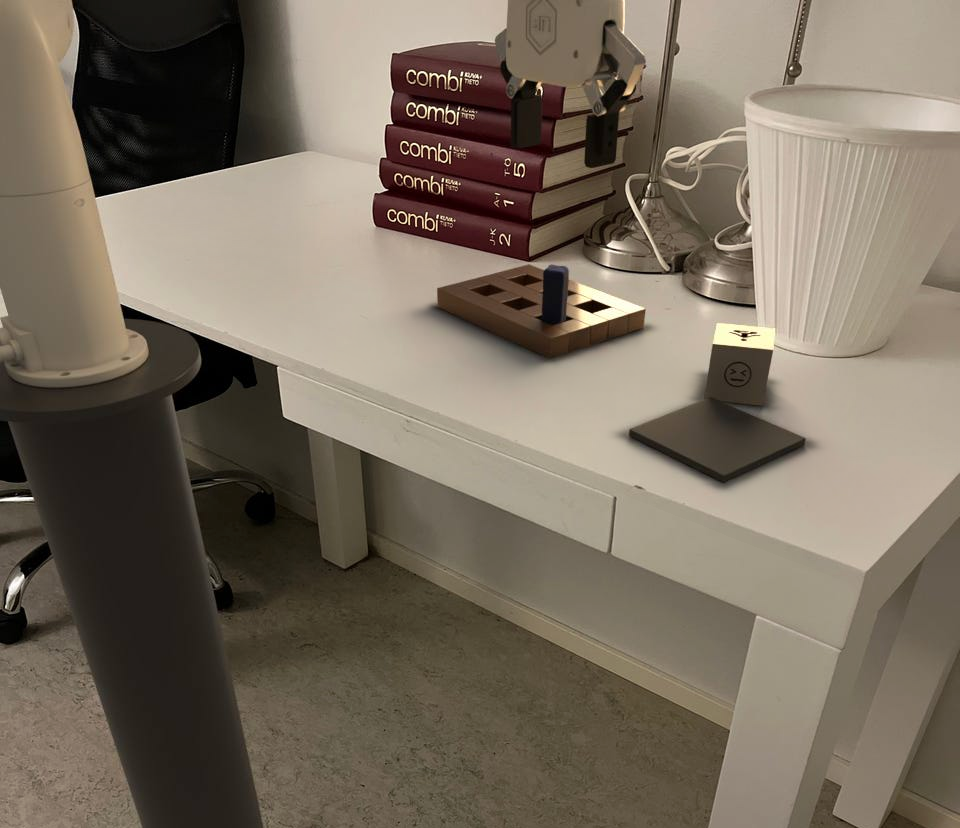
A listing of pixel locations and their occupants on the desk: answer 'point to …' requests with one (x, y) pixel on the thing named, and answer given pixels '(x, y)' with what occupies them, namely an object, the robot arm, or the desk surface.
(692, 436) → the coaster
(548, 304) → the eraser
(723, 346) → the dice cube
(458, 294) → the holder
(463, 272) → the desk surface
